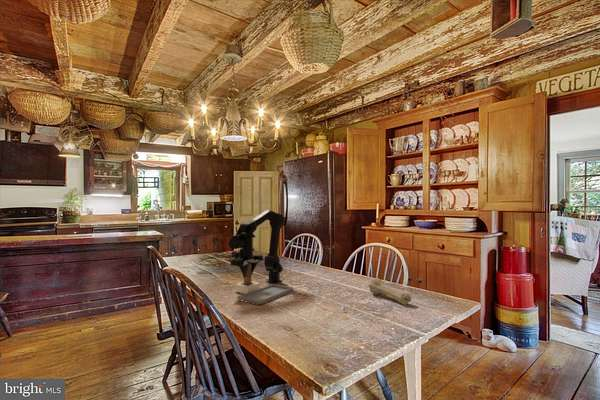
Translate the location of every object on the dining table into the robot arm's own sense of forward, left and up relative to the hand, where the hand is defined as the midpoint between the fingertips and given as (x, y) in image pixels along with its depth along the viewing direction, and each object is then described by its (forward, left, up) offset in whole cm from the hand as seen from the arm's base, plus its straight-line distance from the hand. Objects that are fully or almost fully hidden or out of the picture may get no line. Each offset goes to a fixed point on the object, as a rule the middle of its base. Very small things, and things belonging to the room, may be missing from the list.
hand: (247, 276), depth 161 cm
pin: (0, 0, -6) cm, 6 cm away
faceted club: (-27, +66, -8) cm, 72 cm away
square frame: (0, 0, -8) cm, 8 cm away
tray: (0, +13, -8) cm, 15 cm away
